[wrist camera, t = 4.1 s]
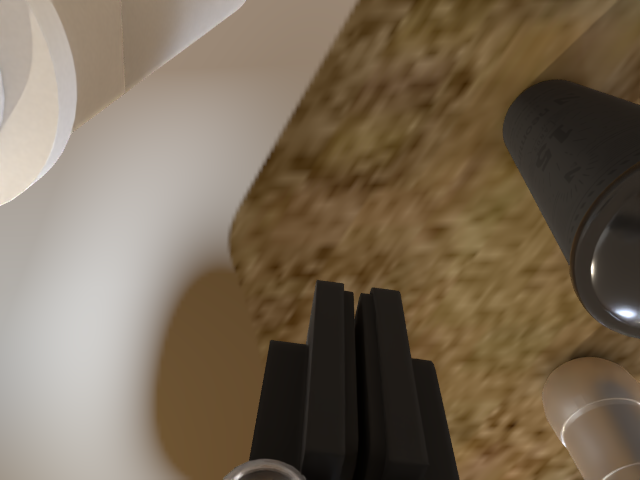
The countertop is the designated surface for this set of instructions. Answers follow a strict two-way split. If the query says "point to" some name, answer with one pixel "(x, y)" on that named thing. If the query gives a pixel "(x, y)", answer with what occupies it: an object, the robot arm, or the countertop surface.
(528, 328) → the countertop surface
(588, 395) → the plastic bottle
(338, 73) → the countertop surface
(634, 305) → the drinking cup
